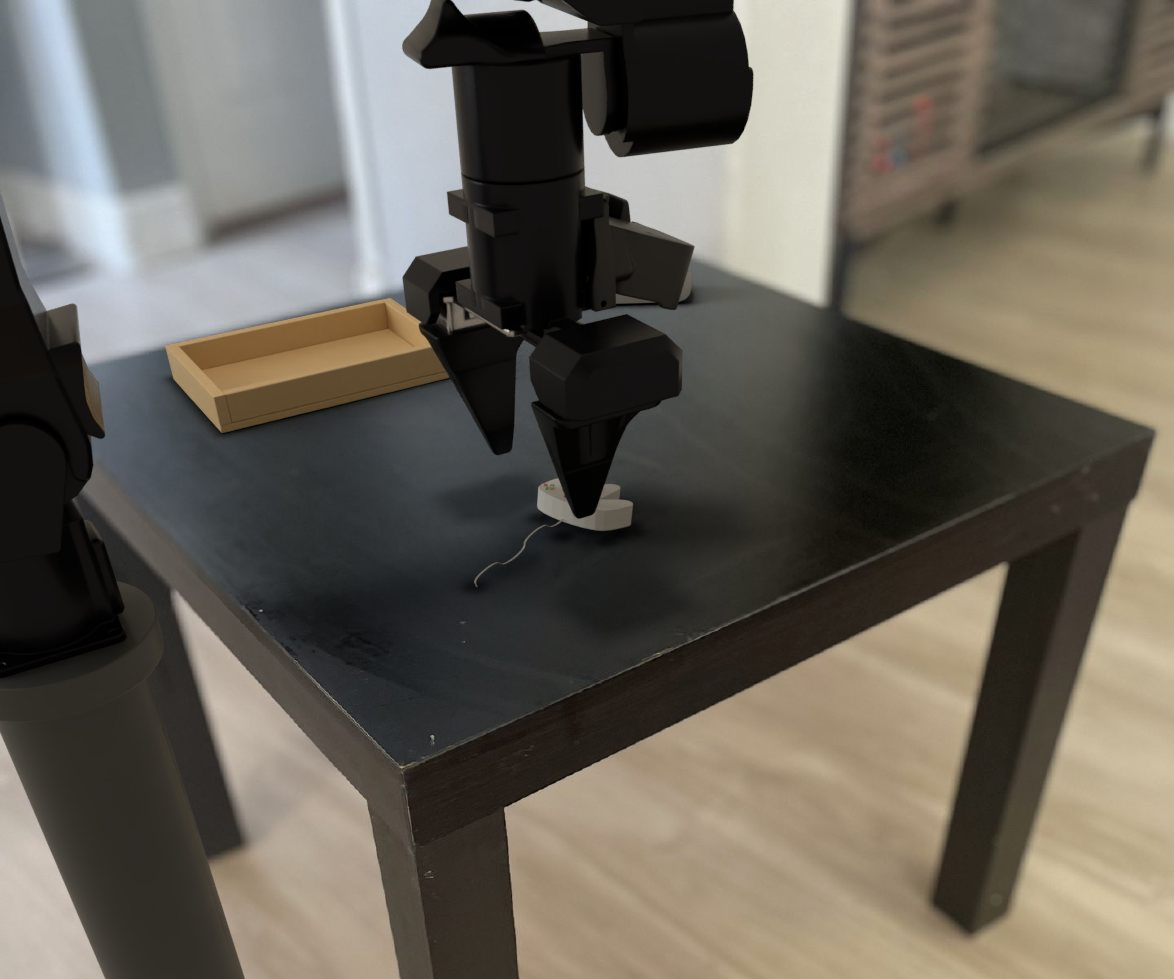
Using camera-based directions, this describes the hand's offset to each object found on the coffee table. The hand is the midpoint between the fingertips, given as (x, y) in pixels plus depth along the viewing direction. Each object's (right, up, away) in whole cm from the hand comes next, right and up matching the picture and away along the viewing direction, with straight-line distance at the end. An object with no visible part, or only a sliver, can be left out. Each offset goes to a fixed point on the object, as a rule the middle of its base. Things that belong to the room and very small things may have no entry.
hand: (541, 482), depth 66 cm
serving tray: (-17, +13, +22) cm, 31 cm away
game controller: (0, -3, +2) cm, 4 cm away
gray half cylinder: (+1, +23, +34) cm, 42 cm away
